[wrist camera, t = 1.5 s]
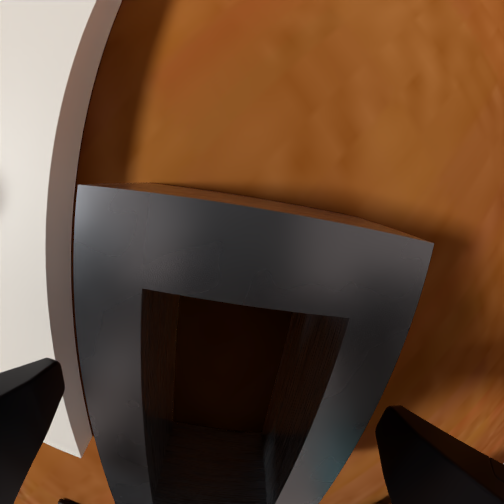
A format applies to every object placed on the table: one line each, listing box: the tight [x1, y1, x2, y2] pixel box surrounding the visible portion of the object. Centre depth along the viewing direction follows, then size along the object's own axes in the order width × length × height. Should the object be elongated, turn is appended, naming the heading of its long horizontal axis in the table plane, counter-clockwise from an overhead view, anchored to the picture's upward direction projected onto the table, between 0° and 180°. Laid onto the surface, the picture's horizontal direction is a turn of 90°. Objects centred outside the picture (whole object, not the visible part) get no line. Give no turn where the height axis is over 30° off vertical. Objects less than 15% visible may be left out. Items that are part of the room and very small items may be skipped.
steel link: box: [73, 183, 434, 504], centre depth 7 cm, size 10×6×4 cm, turn 171°
